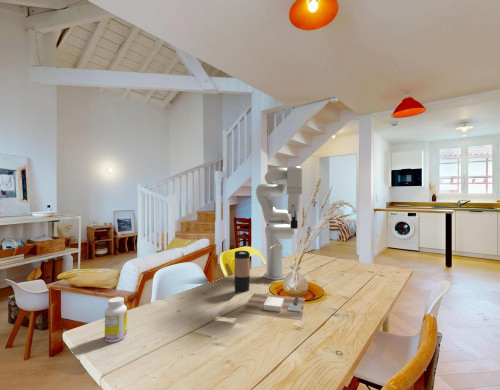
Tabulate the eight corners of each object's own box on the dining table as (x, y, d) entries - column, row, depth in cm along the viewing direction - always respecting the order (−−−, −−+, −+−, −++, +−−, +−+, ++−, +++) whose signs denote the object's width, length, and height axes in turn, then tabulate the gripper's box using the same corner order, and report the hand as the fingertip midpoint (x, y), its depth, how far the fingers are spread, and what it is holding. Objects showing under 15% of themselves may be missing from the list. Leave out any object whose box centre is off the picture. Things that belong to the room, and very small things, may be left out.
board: (254, 296, 125) (254, 292, 125) (305, 301, 119) (305, 298, 119) (240, 316, 104) (240, 312, 104) (301, 324, 98) (301, 320, 98)
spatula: (291, 297, 120) (291, 295, 120) (302, 298, 119) (302, 296, 119) (287, 310, 106) (287, 308, 106) (300, 312, 104) (300, 309, 104)
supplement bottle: (121, 330, 92) (121, 294, 92) (130, 337, 88) (130, 298, 88) (101, 338, 87) (101, 299, 87) (109, 345, 83) (110, 305, 83)
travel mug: (231, 293, 129) (231, 252, 129) (239, 288, 135) (239, 250, 136) (244, 296, 125) (245, 254, 125) (252, 291, 132) (252, 251, 132)
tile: (268, 296, 115) (263, 304, 107) (283, 298, 113) (280, 306, 105) (268, 301, 115) (263, 309, 107) (283, 303, 113) (280, 311, 105)
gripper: (288, 191, 138) (288, 226, 138) (284, 191, 124) (284, 229, 123) (303, 191, 136) (302, 227, 136) (300, 191, 122) (300, 230, 121)
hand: (294, 228), depth 130 cm, fingers closed
